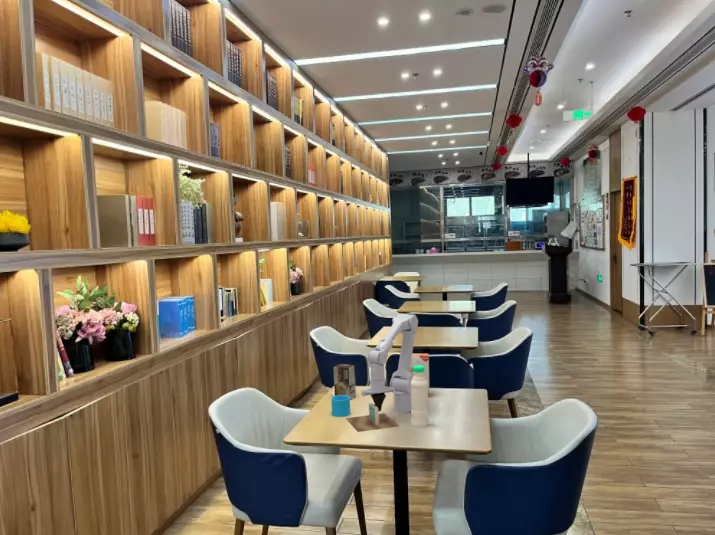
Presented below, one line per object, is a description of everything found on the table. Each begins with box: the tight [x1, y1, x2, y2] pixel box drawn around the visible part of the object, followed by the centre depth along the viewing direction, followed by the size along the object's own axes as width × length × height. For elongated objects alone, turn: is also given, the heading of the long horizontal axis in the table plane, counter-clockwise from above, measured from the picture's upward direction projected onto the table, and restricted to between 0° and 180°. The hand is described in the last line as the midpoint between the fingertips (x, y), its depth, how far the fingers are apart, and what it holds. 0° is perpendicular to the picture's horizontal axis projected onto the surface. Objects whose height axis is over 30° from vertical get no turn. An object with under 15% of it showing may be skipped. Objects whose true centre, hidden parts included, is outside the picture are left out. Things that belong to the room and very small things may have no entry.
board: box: [345, 412, 400, 433], centre depth 220 cm, size 18×18×1 cm
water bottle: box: [410, 365, 430, 427], centre depth 216 cm, size 7×7×25 cm
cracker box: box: [400, 352, 430, 398], centre depth 260 cm, size 14×6×21 cm, turn 81°
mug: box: [330, 395, 351, 418], centre depth 234 cm, size 12×8×8 cm
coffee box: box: [333, 363, 357, 401], centre depth 260 cm, size 9×6×16 cm
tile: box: [368, 402, 379, 425], centre depth 220 cm, size 2×8×7 cm, turn 18°
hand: (378, 410), depth 221 cm, fingers closed
